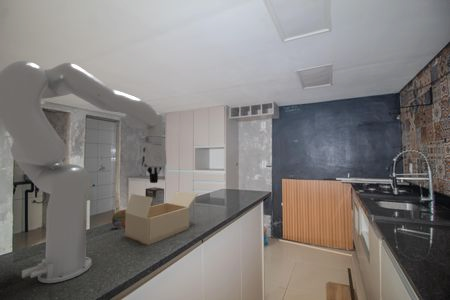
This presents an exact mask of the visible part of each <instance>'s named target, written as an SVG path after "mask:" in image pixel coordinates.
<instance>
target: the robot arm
mask: <svg viewBox="0 0 450 300" xmlns="http://www.w3.org/2000/svg"><path fill="white" fill-rule="evenodd" d="M71 94H72V95H74V96H76V97H77V98H79V99H82V100H83V101H84V102H87V103H89V104H91V105H92V106H94V107H95V108H98V109H99V110H102V111H106V112H111V113H113V112H114V113H121V114H125V115H124V122H125V124H126V125H127V126H128V127H129V128H131V129H144V137H142V141H143V142H144V143H143V146H142V149H141V151H142V152H141V166H142V167H141V169H142V171H146V172H148V174H149V183H151V184H157V183H158V181H159V178H158V177H159V174H160V171H161V170H164V169H165V166H166V165H167V151H166V146H165V144H163V143H164V142H163V141H164V117H163V115H162V114H161V113H158V112H157V111H156V110H155V109H154V108H153V107H152V106H151V105H149V104H148V103H146V102H145V101H143V100H142V99H140V98H138V97H135V96H133V95H131V94H128V93H125V92H122V91H120V90H116V89H114V88H113V87H110V85H108V84H106V83H105V81H102V80H101V79H99V78H97V77H96V76H95V75H93V74H92V73H91V72H88V71H87V70H86V69H84V68H82V67H81V66H79V65H78V64H76V63H73V62H65V63H61V64H58V65H56V66H55V67H53V68H49V69H43V68H42V67H41V66H40V65H38V64H37V63H35V62H32V61H28V60H27V61H26V60H19V61H13V62H12V63H10V64H8V65H7V66H5V67H4V68H3V69H1V70H0V122H1V124H2V126H3V127H4V128H5V130H6V131H7V133H8V134H9V136H10V137H11V138H12V140H13V142H12V144H11V148H10V152H11V156H12V158H13V160H14V161H15V162H16V164H17V165H18V166H19V168H20V169H21V170H22V171H23V173H24V174H25V176H27V178H28V179H29V180H30V181H31V182H32V183H33V184H34V185H35V187H36V188H37V189H39V190H40V191H41V192H43V193H46V194H49V199H48V203H47V206H46V218H45V219H46V227H45V229H46V230H45V258H42V259H41V262H40V263H38V264H37V265H35V266H33V267H29V268H26V269H23V270H21V278H22V279H24V278H27V277H30V278H31V279H32V278H36V277H37V281H38V282H40V283H43V284H53V283H59V282H64V281H69V280H70V279H73V278H75V277H77V276H80V275H82V274H83V273H85V272H87V271H88V270H89V269H90V268H91V266H92V265H93V261H92V258H90V257H89V256H87V223H88V222H87V217H88V216H87V215H88V213H87V211H88V210H87V208H88V196H89V192H90V187H91V177H90V174H89V172H88V171H87V170H86V169H85V168H84V167H82V166H80V165H76V164H71V163H70V164H67V163H66V164H65V163H64V162H63V160H64V159H65V157H66V156H67V146H66V145H65V143H64V141H63V140H62V139H61V137H60V135H59V134H58V133H57V131H56V130H55V128H54V127H53V125H52V123H50V122H49V120H48V118H47V116H46V115H45V112H44V111H43V108H42V107H43V106H42V103H41V101H42V100H43V99H44V100H45V99H51V98H58V97H63V96H68V95H71Z"/></svg>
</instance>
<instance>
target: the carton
mask: <svg viewBox="0 0 450 300" xmlns="http://www.w3.org/2000/svg"><path fill="white" fill-rule="evenodd" d="M124 230H125V231H124V233H125V234H124V236H125V238H129V239H131V240H133V241H136V242H139V243H141V244H143V245H145V246H151V245H152V244H155V243H157V242H159V241H162V240H165V239H167V238H169V237H171V236H174V235H177V234H179V233H181V232H183V231H186V230H190V207H186V206H181V205H176V204H171V203H169V202H164V203H163V204H159V205H155V206H150V209H149V212H148V215H147V219H145V218H142V217H138V216H135V215H131V214H128V213H126V218H125V228H124Z"/></svg>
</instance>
